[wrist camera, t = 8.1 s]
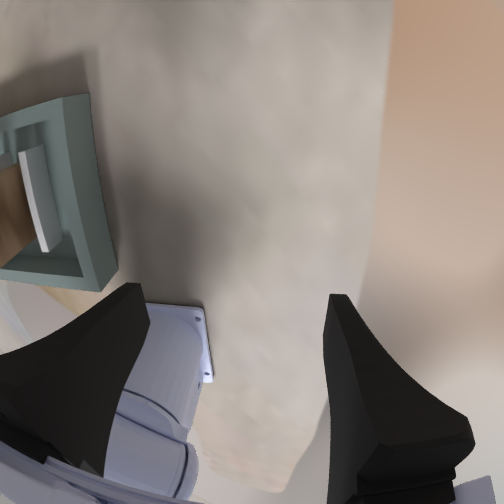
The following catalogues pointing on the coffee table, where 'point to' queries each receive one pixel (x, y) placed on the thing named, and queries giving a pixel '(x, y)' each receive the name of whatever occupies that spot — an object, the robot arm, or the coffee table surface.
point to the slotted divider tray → (59, 196)
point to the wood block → (14, 214)
